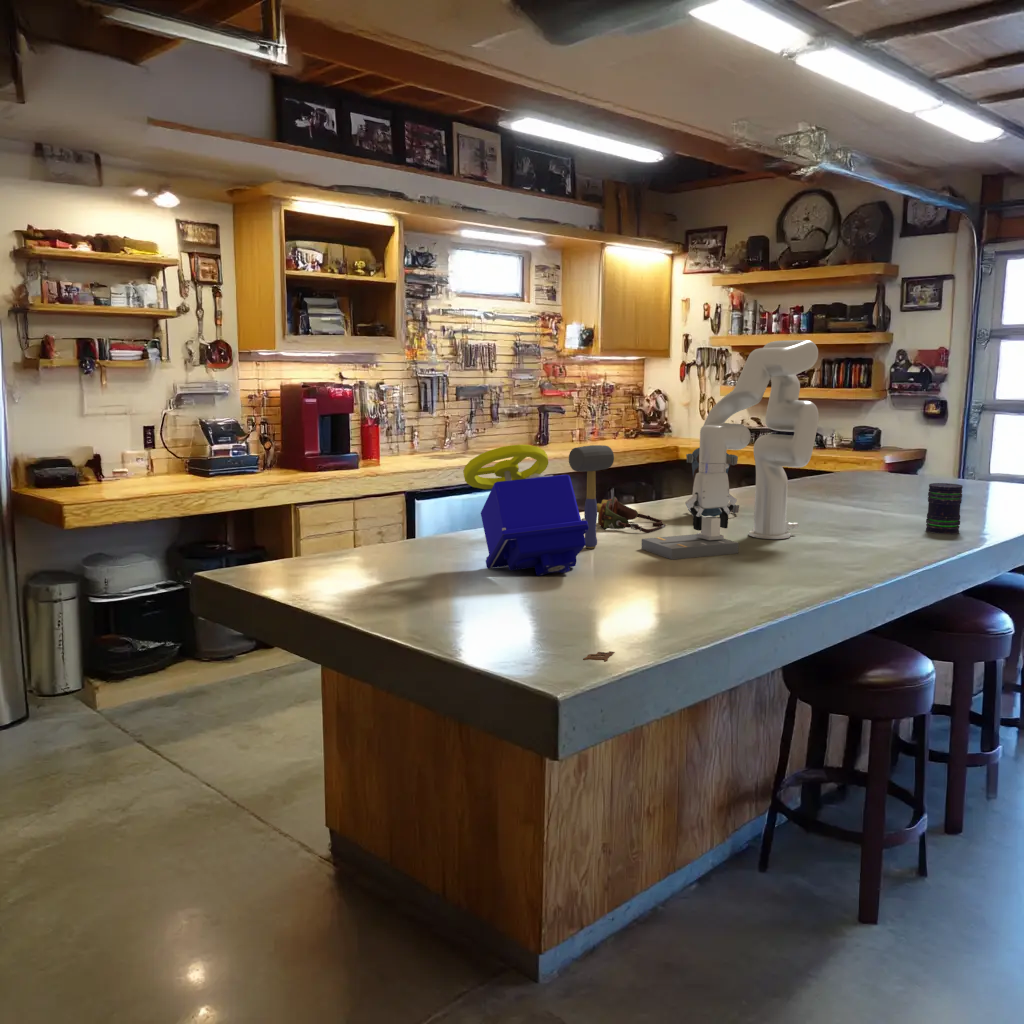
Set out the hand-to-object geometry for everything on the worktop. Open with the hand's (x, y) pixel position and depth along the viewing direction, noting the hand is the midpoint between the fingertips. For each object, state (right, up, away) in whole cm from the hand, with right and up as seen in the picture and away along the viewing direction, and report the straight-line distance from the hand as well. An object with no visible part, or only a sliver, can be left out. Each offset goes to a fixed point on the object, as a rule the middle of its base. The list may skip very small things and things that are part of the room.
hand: (710, 528), depth 258 cm
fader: (0, -3, 0) cm, 3 cm away
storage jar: (+80, -2, +28) cm, 85 cm away
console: (-6, -6, -2) cm, 9 cm away
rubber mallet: (-34, -6, +3) cm, 35 cm away
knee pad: (+14, +4, +62) cm, 64 cm away
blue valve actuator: (-55, -11, -27) cm, 62 cm away
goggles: (-18, -1, +38) cm, 42 cm away
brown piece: (-38, -21, -88) cm, 98 cm away
